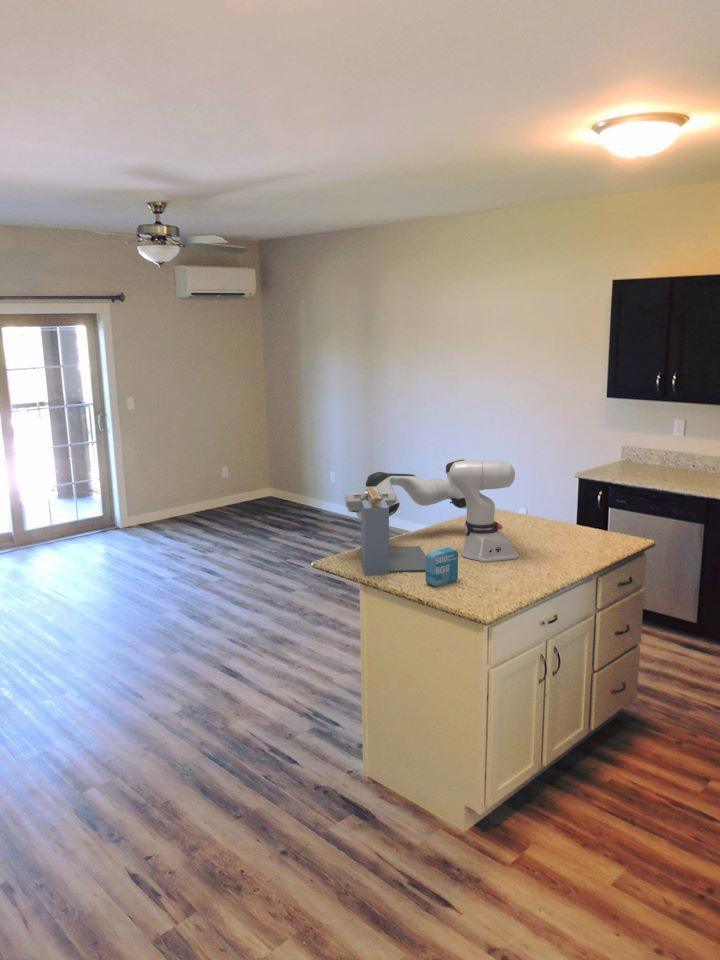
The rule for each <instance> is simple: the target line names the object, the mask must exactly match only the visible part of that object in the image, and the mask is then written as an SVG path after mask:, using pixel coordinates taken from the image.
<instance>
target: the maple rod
mask: <svg viewBox="0 0 720 960" xmlns="http://www.w3.org/2000/svg"><path fill="white" fill-rule="evenodd" d="M365 492H368V497H367V498H368V500H369V502H370V505H371V507H372V508H381V497H380V495H379V493H378V491H377V489H376V488H375V487H365Z"/></svg>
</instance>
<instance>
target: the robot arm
mask: <svg viewBox="0 0 720 960" xmlns="http://www.w3.org/2000/svg"><path fill="white" fill-rule="evenodd" d="M445 473H446V478H447V480H446V479H443V478H431V479H430V478H429V479H422V478H420V477H418V476H417V475H415V474H411V473H391V472H390V473H389V472H385V471H376V472H374V473H371V474H369V475H368V476H367V478H366V481H365V486H366V487H375V488H376V489H377V491H378V493H379V495H380V497H381V500H385V502H386V503H387V505H388V507H389V517H390V516H392V515H394V514H395V513H396V512H397V511H398V509H399V508H400V504H401V503H400V501H399V498H398V497H397V493H396V492H395V490H394V486H399V487H401V488H402V489H403V490H404V491H405V492H406V494H408V496H409V497H410V498H411V500H412V501H413V502H414V503H415V504H417V505H419V506H422V507H423V506H431V505H432V506H433V505H435V504H438V503H441V502H443V501H446V500H450V501H449V504H452V505H453V506H454V507H456V508H458V509H466V520H465V524H464V533H465V539H464V544H463V548H462V551H461V556H463V557H464V558H467V559H470V560H475V561H479V562H482V563H490V562H497V561H507V560H517V559H518V558H519V553H518V551H516V550H515V549H514V548H513V544H512V541H511V539H510V538H509V537H508V536H507V535H505V534H504V533H503V532H501V531H502V529H503V525H502V524H501V523H499V522H497V521H496V520H495V514H496V504H495V502H494V500H493V499H492V498H490V497H488V496H486V495H484V494H483V493H481V491H484V490H498V489H504V488H510V487H511V486H512V485H513V483H514V481H515V478H516V472H515V468H514V467H513V465H512V464H511V463H509V462H506V461H505V462H504V461H500V460H474V459H473V460H471V459H470V460H467V459H464V458H463V459H461V458H457V459H456V458H455V459H453V460H451V461H450V462H448V463H447V464H446V465H445ZM366 487H365V488H366ZM344 496H345V497H344V498H345V506H346V508H347V511H348V512H350V513H356V516H357V518H358V519H359V520H360V521H361V501H368V498H367V497H368V492H366V491H364V492H363V493H362V492H361V493H346V494H345V495H344ZM500 530H501V531H500Z"/></svg>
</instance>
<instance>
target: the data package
mask: <svg viewBox="0 0 720 960" xmlns="http://www.w3.org/2000/svg"><path fill="white" fill-rule="evenodd" d="M425 556H426V572H425V579H424V580H425V583H426V584H428V585H430V586H433V587H435V586H437V587H441V586H443V584H444V585H447V583H448V584H450V583H454V581H455V582H457V580H458V576H459V574H458V573H459V572H458V571H459V552H458V550H456V549H453V548H451V547H445V548H444V547H443V548H440V549H437V550H432V551H428V552H427V553H426V554H425Z"/></svg>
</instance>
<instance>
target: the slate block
mask: <svg viewBox="0 0 720 960" xmlns="http://www.w3.org/2000/svg"><path fill="white" fill-rule="evenodd" d="M360 521H361V532H360V533H361V534H360V535H361V541H360V542H361V543H360V544H361V568H362V571H363V574H364V576H366V577H367V576H386V575H385V574H389V575H390V573H389V547H390V540H389V539H390V516H389V507H388V505H387V503H386V502H385V500H381V508H372V507H371V505H370V502H369V500H368V501H361V520H360Z"/></svg>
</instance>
